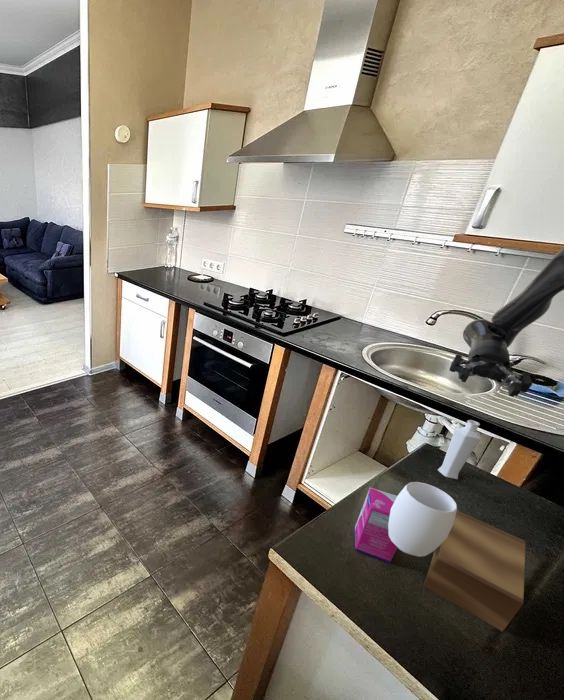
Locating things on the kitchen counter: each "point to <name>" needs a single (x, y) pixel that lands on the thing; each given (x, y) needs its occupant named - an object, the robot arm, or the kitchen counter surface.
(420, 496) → the cup
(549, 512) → the kitchen counter surface
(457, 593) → the wood grain block
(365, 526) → the supplement box
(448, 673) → the kitchen counter surface
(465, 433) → the perfume bottle
